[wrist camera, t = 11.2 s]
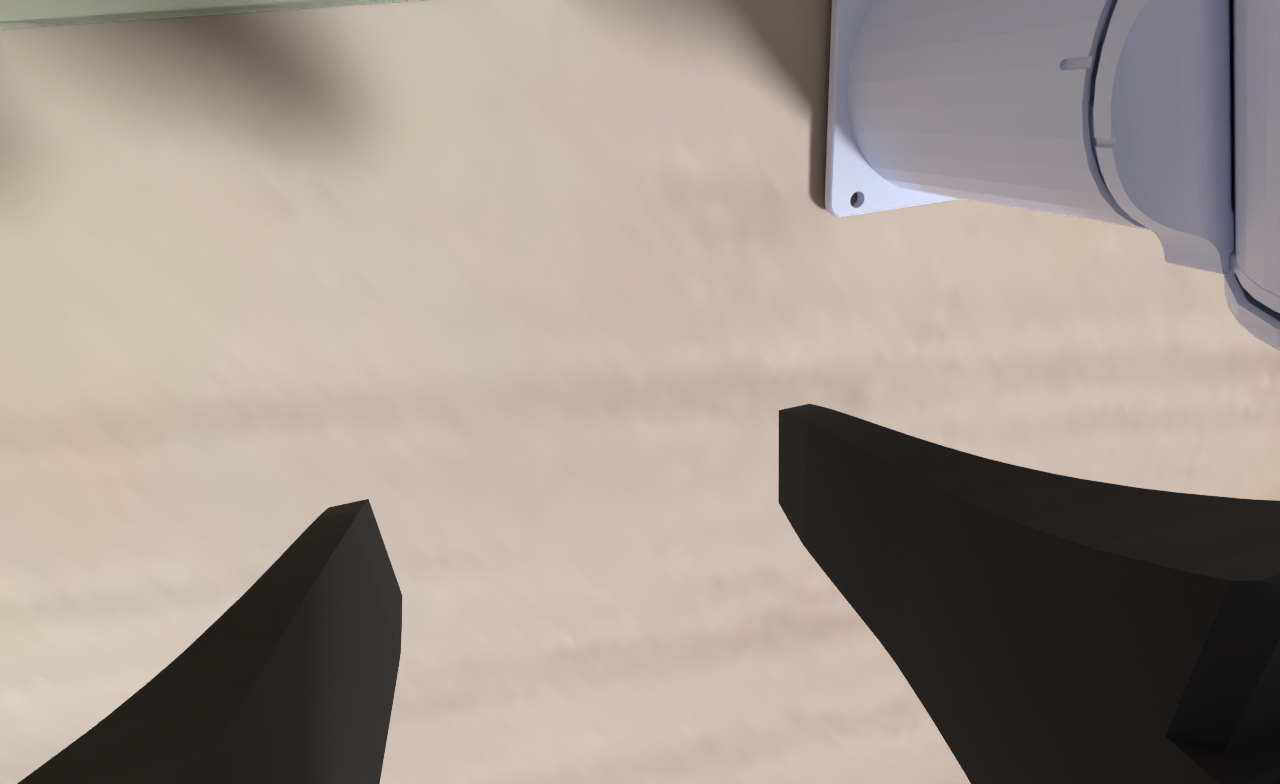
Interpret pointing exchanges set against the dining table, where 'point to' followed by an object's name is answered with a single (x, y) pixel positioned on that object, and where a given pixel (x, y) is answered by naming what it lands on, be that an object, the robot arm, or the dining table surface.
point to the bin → (143, 9)
